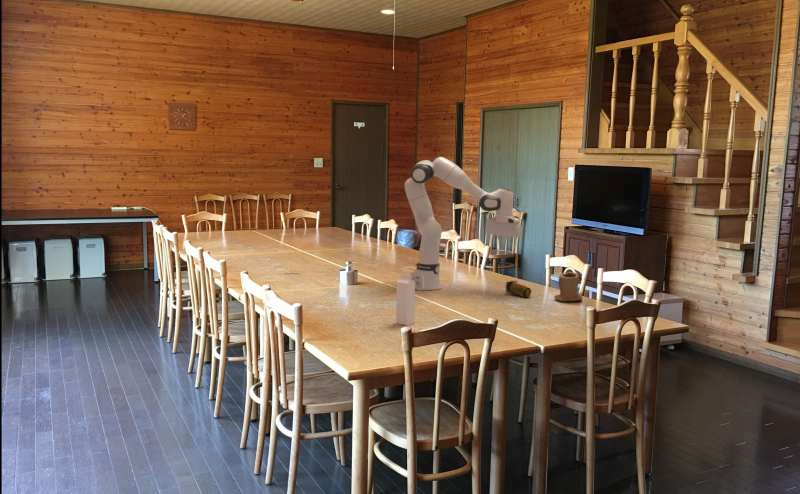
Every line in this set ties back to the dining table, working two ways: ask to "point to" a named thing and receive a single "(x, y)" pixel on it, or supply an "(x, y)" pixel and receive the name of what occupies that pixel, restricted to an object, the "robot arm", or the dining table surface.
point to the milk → (405, 300)
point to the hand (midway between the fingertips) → (501, 244)
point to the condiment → (517, 289)
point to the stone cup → (568, 287)
